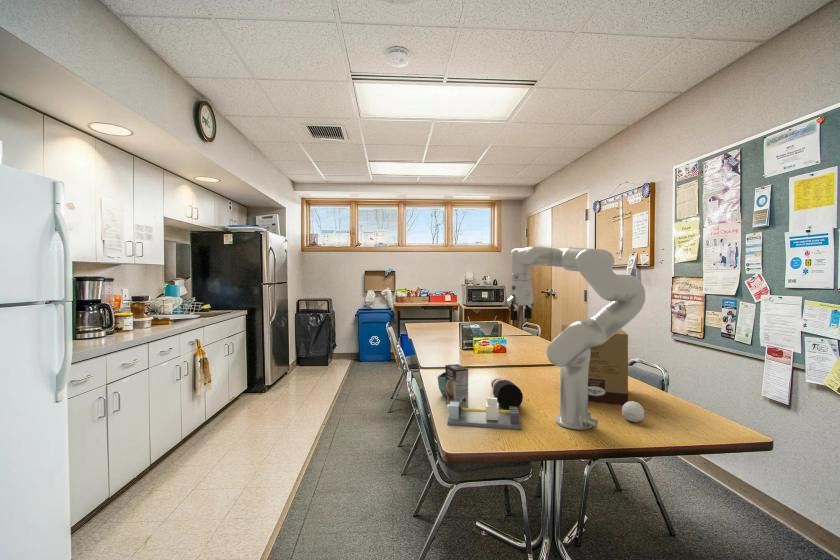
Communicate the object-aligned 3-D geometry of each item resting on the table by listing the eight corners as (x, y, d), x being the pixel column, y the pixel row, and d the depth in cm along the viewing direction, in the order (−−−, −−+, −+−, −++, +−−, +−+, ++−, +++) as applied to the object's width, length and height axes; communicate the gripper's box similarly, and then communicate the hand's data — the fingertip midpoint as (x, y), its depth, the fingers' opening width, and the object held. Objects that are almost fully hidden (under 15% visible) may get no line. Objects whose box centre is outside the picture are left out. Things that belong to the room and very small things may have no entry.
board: (518, 418, 140) (518, 405, 140) (521, 429, 130) (521, 415, 130) (450, 414, 144) (450, 401, 144) (447, 424, 134) (447, 410, 134)
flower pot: (443, 390, 174) (443, 371, 174) (461, 393, 171) (461, 373, 171) (437, 396, 166) (437, 376, 166) (456, 398, 163) (455, 378, 163)
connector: (462, 414, 141) (461, 402, 141) (461, 419, 136) (461, 406, 136) (448, 413, 142) (448, 401, 142) (446, 418, 137) (446, 405, 137)
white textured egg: (617, 419, 138) (617, 400, 138) (630, 416, 141) (630, 397, 141) (642, 429, 129) (642, 408, 129) (656, 426, 132) (656, 405, 132)
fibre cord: (518, 413, 135) (518, 410, 135) (518, 414, 134) (518, 411, 134) (457, 410, 139) (457, 406, 139) (457, 411, 138) (457, 408, 138)
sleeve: (498, 415, 138) (498, 396, 138) (498, 420, 134) (498, 400, 134) (486, 414, 139) (486, 395, 139) (486, 419, 135) (486, 399, 134)
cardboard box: (618, 389, 176) (619, 326, 176) (628, 406, 152) (628, 333, 152) (561, 383, 185) (562, 323, 185) (562, 399, 161) (562, 330, 161)
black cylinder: (499, 396, 180) (508, 377, 181) (516, 414, 146) (527, 391, 147) (481, 386, 180) (490, 367, 181) (493, 402, 147) (504, 379, 148)
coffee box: (444, 402, 158) (444, 365, 158) (458, 400, 161) (457, 363, 160) (455, 409, 150) (454, 369, 149) (468, 407, 152) (468, 368, 152)
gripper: (515, 278, 145) (515, 321, 145) (540, 278, 156) (540, 318, 156) (500, 278, 150) (500, 320, 151) (525, 278, 161) (525, 317, 162)
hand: (521, 319), depth 153 cm, fingers open, 9 cm apart
